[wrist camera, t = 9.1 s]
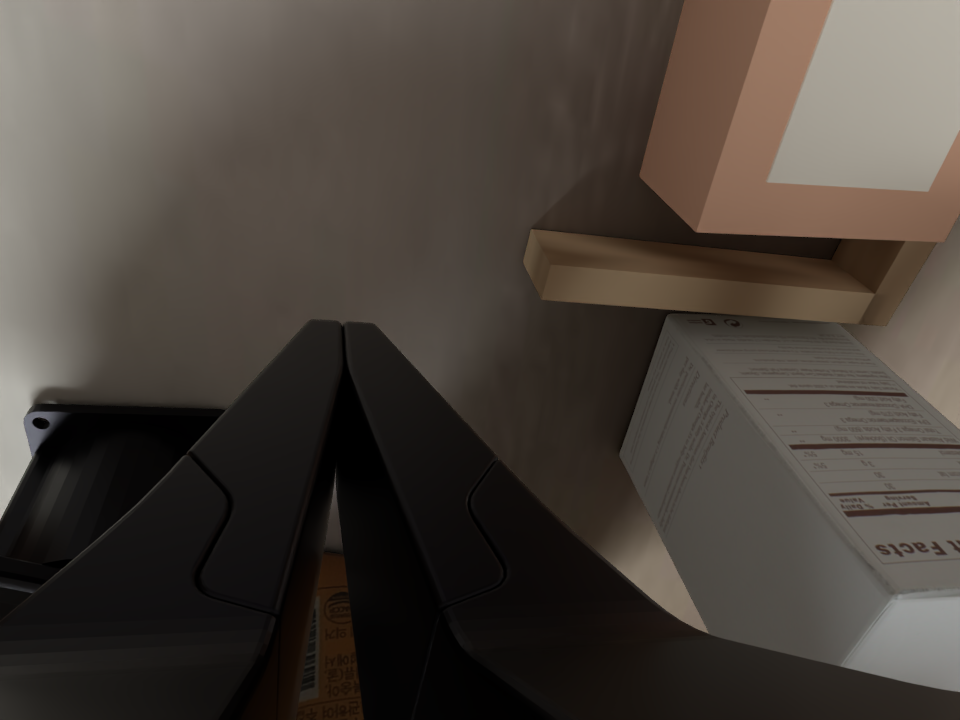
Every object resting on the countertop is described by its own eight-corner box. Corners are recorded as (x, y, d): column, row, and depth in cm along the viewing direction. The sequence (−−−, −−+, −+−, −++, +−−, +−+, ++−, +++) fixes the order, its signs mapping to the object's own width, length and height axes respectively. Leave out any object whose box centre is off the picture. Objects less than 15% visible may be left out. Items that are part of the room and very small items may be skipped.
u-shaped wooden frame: (522, 262, 23) (541, 299, 21) (700, -470, 14) (764, -531, 12) (843, 291, 26) (885, 326, 24) (1158, -287, 17) (1270, -309, 15)
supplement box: (764, 453, 30) (979, 740, 20) (612, 454, 29) (765, 768, 19) (838, 313, 26) (1153, 585, 16) (666, 304, 25) (898, 603, 15)
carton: (635, 173, 22) (697, 233, 18) (739, -235, 16) (858, -267, 12) (850, 185, 23) (945, 243, 20) (1011, -180, 18) (1187, -194, 14)
